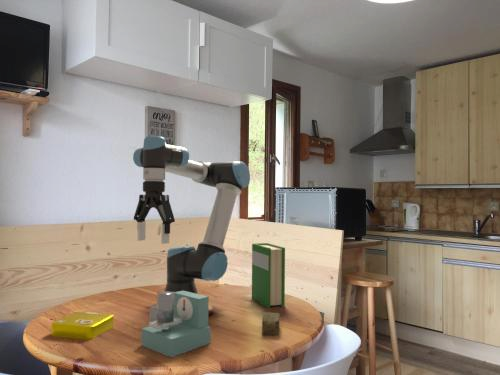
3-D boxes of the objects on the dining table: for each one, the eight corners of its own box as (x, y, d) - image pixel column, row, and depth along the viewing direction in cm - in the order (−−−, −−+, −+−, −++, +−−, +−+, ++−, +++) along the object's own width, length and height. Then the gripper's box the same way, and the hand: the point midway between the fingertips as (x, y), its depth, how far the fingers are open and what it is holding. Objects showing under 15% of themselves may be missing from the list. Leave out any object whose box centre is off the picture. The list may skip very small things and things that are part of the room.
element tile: (115, 326, 143) (116, 312, 143) (90, 341, 128) (90, 325, 128) (77, 323, 146) (77, 309, 146) (48, 337, 131) (48, 322, 131)
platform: (173, 325, 127) (173, 315, 127) (182, 328, 124) (182, 318, 124) (149, 332, 120) (149, 322, 120) (157, 336, 118) (157, 325, 118)
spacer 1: (158, 328, 140) (158, 304, 141) (167, 331, 137) (168, 306, 137) (146, 331, 137) (146, 307, 137) (155, 335, 133) (155, 310, 134)
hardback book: (284, 306, 170) (285, 247, 170) (268, 308, 167) (268, 248, 168) (266, 296, 186) (267, 243, 187) (251, 297, 184) (252, 243, 184)
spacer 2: (167, 317, 126) (167, 290, 126) (177, 320, 123) (178, 293, 123) (153, 320, 122) (154, 293, 122) (164, 324, 119) (164, 296, 119)
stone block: (261, 336, 134) (261, 320, 134) (262, 325, 145) (262, 311, 145) (279, 336, 133) (279, 321, 134) (279, 326, 145) (279, 311, 145)
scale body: (180, 333, 135) (180, 290, 136) (210, 343, 126) (210, 297, 127) (141, 345, 124) (142, 298, 124) (171, 357, 115) (172, 306, 115)
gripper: (124, 181, 150) (123, 239, 150) (168, 179, 134) (167, 245, 133) (141, 181, 156) (141, 238, 155) (185, 180, 140) (184, 243, 139)
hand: (153, 241), depth 144 cm, fingers open, 13 cm apart
